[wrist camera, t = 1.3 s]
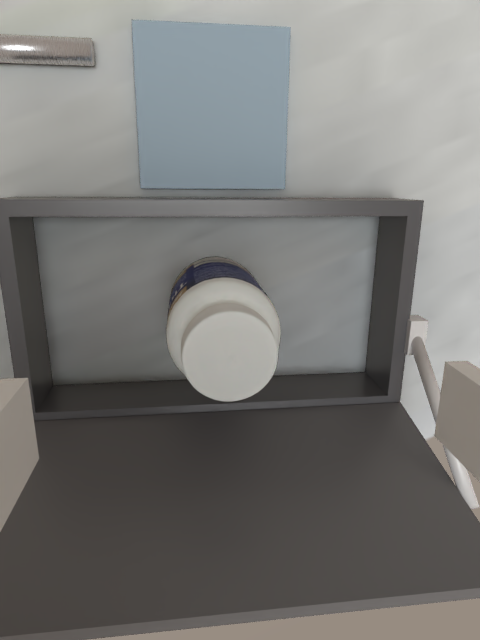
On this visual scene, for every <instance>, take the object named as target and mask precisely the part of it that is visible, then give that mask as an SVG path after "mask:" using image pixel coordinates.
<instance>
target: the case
mask: <svg viewBox="0 0 480 640" xmlns="http://www.w3.org/2000/svg"><path fill="white" fill-rule="evenodd" d="M423 203H424V201H423V200H410V199H397V198H148V197H9V198H0V282H1V289H2V295H3V302H4V309H5V316H6V323H7V329H8V336H9V343H10V350H11V357H12V363H13V370H14V377H15V378H28V381H29V388H30V396H31V403H32V410H33V417H34V425H35V432H36V439H37V446H38V454H39V460H38V462H37V464H36V466H35V467H34V469H33V471H32V473H31V475H30V477H29V479H28V481H27V483H26V484H25V486H24V488H23V490H22V492H21V494H20V496H19V498H18V500H17V501H16V503H15V505H14V507H13V509H12V511H11V513H10V515H9V517H8V519H7V520H6V522H5V524H4V526H3V528H2V530H1V532H0V640H86V639H96V638H105V637H115V636H124V635H134V634H143V633H152V632H162V631H171V630H181V629H190V628H200V627H209V626H219V625H229V624H238V623H248V622H256V621H266V620H276V619H286V618H295V617H304V616H314V615H324V614H333V613H343V612H352V611H361V610H370V609H380V608H390V607H400V606H409V605H419V604H428V603H437V602H447V601H456V600H466V599H476V598H480V522H479V521H478V519H477V518H476V516H475V515H474V513H473V512H472V511H471V509H475V508H479V504H478V501H477V498H476V495H475V492H474V489H473V486H472V483H471V481H470V478H469V475H468V472H467V469H466V468H465V467H464V466H463V465H462V464H461V463H460V462H459V461H458V460H457V458H456V457H455V456H454V455H453V454H452V453H451V452H450V451H449V450H448V449H447V448H446V447H445V446H444V445H443V447H444V450H445V453H446V457H447V460H448V463H449V466H450V469H451V472H452V475H453V478H454V481H455V485H456V486H455V485H454V483H453V481H452V480H451V478H450V477H449V475H448V474H447V472H446V471H445V470H444V468H443V466H442V465H441V463H440V462H439V460H438V459H437V457H436V456H435V454H434V453H433V452H432V450H431V448H430V447H429V445H428V444H427V442H426V441H425V439H424V438H423V436H422V435H421V433H420V431H419V430H418V428H417V427H416V425H415V424H414V422H413V421H412V419H411V418H410V416H409V415H408V413H407V412H406V410H405V409H404V407H403V406H402V404H401V403H400V396H401V388H402V379H403V371H404V363H405V354H407V355H414V358H415V361H416V364H417V367H418V370H419V373H420V376H421V379H422V382H423V386H424V389H425V392H426V395H427V398H428V401H429V404H430V407H431V410H432V413H433V416H434V420H435V423H436V422H437V415H438V408H439V401H440V395H441V393H440V390H439V387H438V384H437V381H436V378H435V375H434V372H433V369H432V366H431V363H430V360H429V358H428V355H427V352H426V349H425V342H426V335H427V327H428V320H426V319H424V318H422V317H420V316H419V315H410V312H411V304H412V295H413V287H414V279H415V270H416V262H417V254H418V245H419V237H420V228H421V220H422V212H423ZM191 216H380V221H379V231H378V242H377V253H376V264H375V274H374V285H373V296H372V306H371V317H370V328H369V339H368V349H367V360H366V371H365V372H360V373H337V374H313V375H290V376H272V378H271V379H270V381H269V382H268V383H267V384H266V386H265V387H264V388H263V389H261V390H260V391H259V392H257V393H256V394H254V395H252V396H250V397H248V398H246V399H243V400H238V401H231V402H227V401H218V400H214V399H211V398H209V397H206V396H204V395H203V394H201V393H200V392H198V391H197V390H196V389H195V388H194V387H193V386H192V385H191V383H190V382H189V381H188V380H172V381H149V382H125V383H102V384H78V385H55V386H53V383H52V374H51V366H50V358H49V350H48V341H47V333H46V325H45V317H44V308H43V300H42V292H41V284H40V275H39V267H38V259H37V251H36V243H35V234H34V226H33V218H32V217H191Z"/></svg>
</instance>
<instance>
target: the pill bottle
mask: <svg viewBox="0 0 480 640" xmlns="http://www.w3.org/2000/svg"><path fill="white" fill-rule="evenodd" d="M280 337H281V329H280V322H279V318H278V315H277V312H276V310H275V307H274V306H273V304H272V302H271V301H270V299H269V298H268V297H267V295H266V293H264V291H263V290H262V289H261V287H260V286H259V285H258V283H257V281H256V280H255V279H254V277H253V276H252V275H251V274H250V273H249V272H248V271H247V270H246V269H245V268H244V267H243V266H242V265H240V264H238V263H237V262H235V261H232V260H230V259H226V258H221V257H209V258H204V259H201V260H198V261H196V262H194V263H192V264H190V265H189V266H187V267H186V268H185V269H184V270H183V271H182V272H181V273H180V274H179V276H178V277H177V279H176V281H175V283H174V285H173V288H172V291H171V296H170V303H169V309H168V319H167V327H166V339H167V345H168V349H169V353H170V355H171V358H172V360H173V361H174V363H175V365H176V366H177V367H178V369H179V370H180V371H181V372H182V373H183V374H184V375H185V376H186V377H187V379H188V381H189V382H190V383H191V385H192V386H193V387H194V388H195V389H196V390H197V391H198V392H200V393H201V394H203V395H204V396H206V397H209V398H211V399H214V400H218V401H227V402H231V401H238V400H243V399H246V398H248V397H250V396H252V395H254V394H256V393H257V392H259V391H260V390H261V389H263V388H264V387H265V386H266V384H267V383H268V382H269V381H270V379H271V378H272V376H273V374H274V372H275V369H276V366H277V362H278V348H279V344H280Z"/></svg>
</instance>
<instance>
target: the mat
mask: <svg viewBox="0 0 480 640" xmlns="http://www.w3.org/2000/svg"><path fill="white" fill-rule="evenodd" d="M290 29H291V27H277V26H256V25H235V24H214V23H193V22H172V21H151V20H132V35H133V54H134V73H135V91H136V110H137V129H138V147H139V166H140V184H141V188H173V189H285V176H286V147H287V117H288V88H289V59H290Z"/></svg>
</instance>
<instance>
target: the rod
mask: <svg viewBox="0 0 480 640" xmlns="http://www.w3.org/2000/svg"><path fill="white" fill-rule="evenodd" d="M0 63H25V64H53V65H81V66H94V65H95V53H94V46H93V41H92V39H91V38H78V37H55V36H31V35H8V34H0Z"/></svg>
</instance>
